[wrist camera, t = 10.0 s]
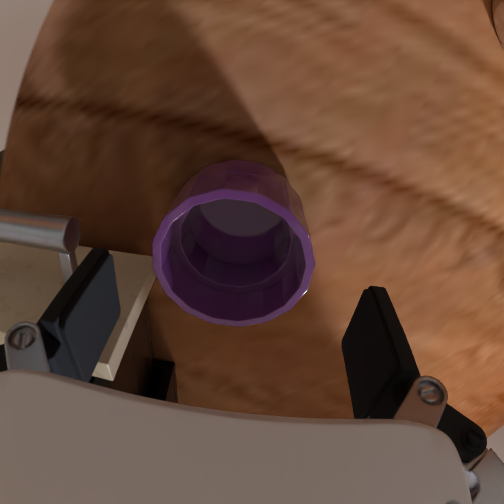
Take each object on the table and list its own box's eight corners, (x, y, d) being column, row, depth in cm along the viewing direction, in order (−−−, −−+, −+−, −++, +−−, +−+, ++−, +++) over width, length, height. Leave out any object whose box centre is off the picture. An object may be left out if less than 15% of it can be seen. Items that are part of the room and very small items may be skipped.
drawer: (-3, 171, 15) (-89, 232, 8) (156, 180, 15) (84, 269, 9) (51, 358, 24) (18, 425, 17) (167, 387, 24) (148, 469, 18)
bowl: (176, 262, 19) (155, 315, 15) (179, 150, 15) (151, 180, 11) (289, 277, 19) (294, 333, 15) (314, 168, 16) (331, 204, 12)
